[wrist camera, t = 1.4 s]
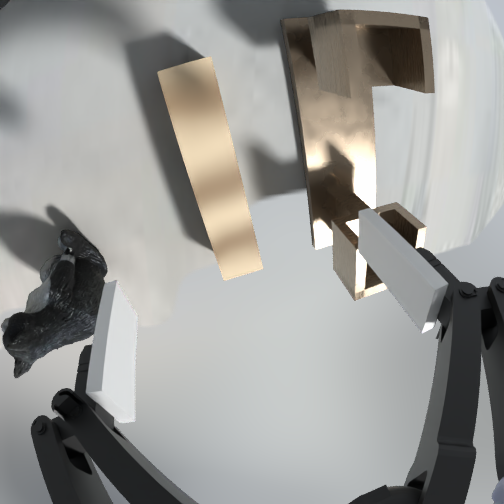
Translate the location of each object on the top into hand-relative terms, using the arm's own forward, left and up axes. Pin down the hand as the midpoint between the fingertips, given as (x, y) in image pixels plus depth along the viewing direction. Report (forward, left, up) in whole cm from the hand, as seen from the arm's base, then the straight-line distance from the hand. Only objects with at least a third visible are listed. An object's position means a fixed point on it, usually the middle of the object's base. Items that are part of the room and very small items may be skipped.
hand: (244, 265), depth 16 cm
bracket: (0, +13, -16) cm, 20 cm away
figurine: (+5, -17, -16) cm, 24 cm away
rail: (0, 0, -16) cm, 16 cm away
